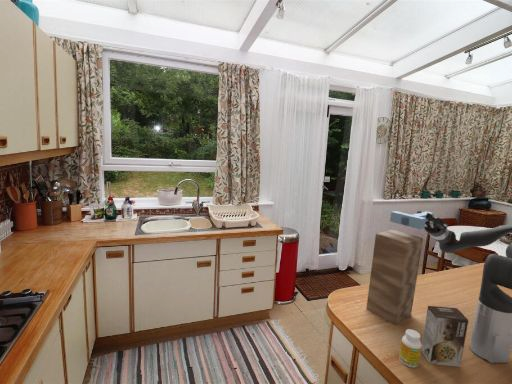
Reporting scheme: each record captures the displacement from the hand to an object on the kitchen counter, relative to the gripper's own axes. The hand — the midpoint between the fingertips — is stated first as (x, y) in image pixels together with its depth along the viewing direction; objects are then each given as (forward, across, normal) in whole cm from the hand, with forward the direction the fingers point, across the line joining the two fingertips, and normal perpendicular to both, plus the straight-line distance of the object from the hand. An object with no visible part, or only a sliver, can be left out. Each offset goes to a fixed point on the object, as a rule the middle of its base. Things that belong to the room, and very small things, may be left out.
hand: (422, 214), depth 117 cm
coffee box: (+4, +23, +47) cm, 53 cm away
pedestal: (-5, 0, +42) cm, 42 cm away
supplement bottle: (+12, +18, +52) cm, 57 cm away
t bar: (+2, 0, +4) cm, 5 cm away
